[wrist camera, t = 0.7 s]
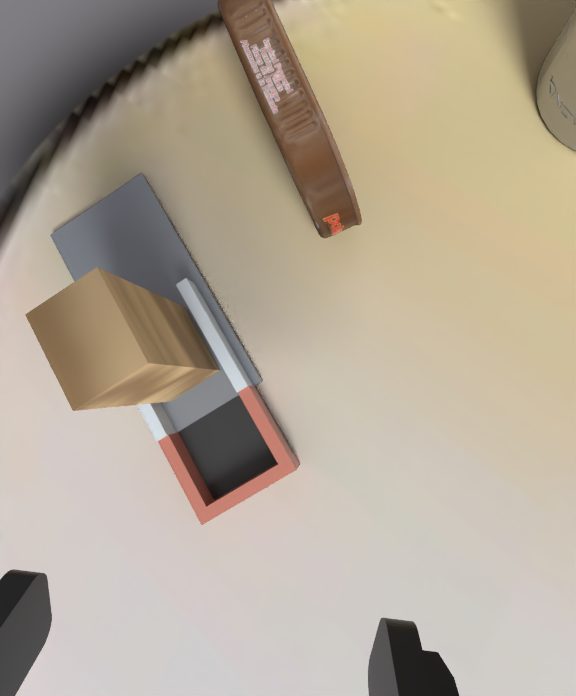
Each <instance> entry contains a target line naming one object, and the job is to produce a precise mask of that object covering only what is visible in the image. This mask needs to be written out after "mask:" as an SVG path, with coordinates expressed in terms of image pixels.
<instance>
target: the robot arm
mask: <svg viewBox="0 0 576 696" xmlns="http://www.w3.org/2000/svg"><path fill="white" fill-rule="evenodd" d="M536 92H537V104H538V107H539V111H540V114H541V117H542V119H543V120H544V122H545V124H546V125H547V127H548V129H549V130H550V131H551V132H552V133H553V134H554V135H555V137H556V138H557V139H558V140H559V141H560V142H562V143H563V144H565V145H566V146H568V147H569V148H571V149H572V150H574V151H576V8H575V9H574V11H573V13H572V14H571V16H570V18H569V19H568V21H567V23H566V25H565V26H564V28H563V30H562V31H561V33H560V35H559V37H558V38H557V40H556V42H555V43H554V45H553V47H552V48H551V50H550V52H549V54H548V55H547V57H546V59H545V61H544V63H543V65H542V68H541V70H540V72H539V76H538V82H537V87H536ZM51 621H52V614H51V606H50V597H49V589H48V581H47V576H46V574H44V573H37V572H29V571H21V570H10V571H9V572H7V573H6V574H5V575H4V576H3V577H2V578H1V580H0V696H15V695H16V693H17V691H18V690H19V688H20V686H21V684H22V683H23V681H24V679H25V677H26V676H27V674H28V672H29V670H30V669H31V667H32V665H33V663H34V662H35V660H36V658H37V657H38V655H39V653H40V651H41V650H42V648H43V646H44V644H45V642H46V639H47V637H48V634H49V631H50V627H51ZM368 688H369V696H459V693H458V690H457V687H456V683H455V680H454V677H453V676H452V674H451V672H450V671H449V669H448V668H447V666H446V664H445V663H444V661H443V660H442V658H441V657H440V655H439V653H438V652H431V651H424V650H422V646H421V642H420V638H419V634H418V630H417V627H416V625H415V623H414V622H412V621H405V620H397V619H389V618H381V620H380V622H379V626H378V630H377V633H376V637H375V641H374V644H373V648H372V652H371V655H370V659H369V667H368Z"/></svg>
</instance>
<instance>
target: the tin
mask: <svg viewBox="0 0 576 696" xmlns="http://www.w3.org/2000/svg"><path fill="white" fill-rule="evenodd" d="M218 9H219V11H220V13H221V15H222V18H223V20H224V23H225V25H226V28H227V30H228V32H229V35H230V37H231V39H232V42H233V44H234V47H235V49H236V51H237V54H238V56H239V58H240V61H241V63H242V65H243V68H244V70H245V72H246V75H247V77H248V80H249V82H250V84H251V87H252V89H253V91H254V93H255V96H256V98H257V100H258V102H259V105H260V107H261V109H262V111H263V114H264V116H265V118H266V120H267V122H268V124H269V127H270V129H271V131H272V133H273V135H274V138H275V140H276V142H277V144H278V146H279V149H280V151H281V153H282V155H283V158H284V160H285V162H286V164H287V166H288V169H289V171H290V173H291V175H292V177H293V180H294V182H295V184H296V186H297V189H298V191H299V193H300V195H301V197H302V199H303V201H304V203H305V205H306V207H307V209H308V211H309V213H310V216H311V218H312V220H313V222H314V225H315V227H316V229H317V231H318V233H319V235H320V236H321V237H322V238H328V237H330V236H333V235H335V234H337V233H339V232H341V231H344V230H346V229H348V228H350V227H352V226H354V225H360V224H361V223H362V219H361V214H360V209H359V206H358V203H357V199H356V196H355V193H354V190H353V187H352V184H351V181H350V178H349V176H348V173H347V170H346V168H345V165H344V163H343V160H342V158H341V155H340V153H339V150H338V147H337V145H336V143H335V140H334V138H333V136H332V133H331V131H330V128H329V126H328V124H327V122H326V119H325V117H324V115H323V112H322V110H321V108H320V106H319V104H318V102H317V99H316V97H315V95H314V93H313V91H312V89H311V86H310V84H309V82H308V80H307V77H306V75H305V73H304V71H303V69H302V67H301V64H300V63H299V60H298V58H297V56H296V54H295V51H294V49H293V47H292V45H291V43H290V41H289V39H288V36H287V34H286V32H285V30H284V27H283V25H282V23H281V21H280V19H279V17H278V14H277V12H276V10H275V8H274V5H273V3H272V1H271V0H218Z"/></svg>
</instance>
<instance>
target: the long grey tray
mask: <svg viewBox="0 0 576 696" xmlns="http://www.w3.org/2000/svg"><path fill="white" fill-rule="evenodd" d="M51 237H52V239H53V241H54V243H55V245H56V247H57V249H58V251H59V253H60V255H61V256H62V258H63V260H64V262H65V264H66V266H67V268H68V270H69V272H70V274H71V276H72V277H73V279H74V281H77V280H78V279H80V278H81V277H83V276H84V275H86V274H87V273H89V272H90V271H92V270H93V269H95V268H96V267H98V268H100V269H102V270H104V271H107V272H109V273H111V274H113V275H116V276H118V277H120V278H122V279H124V280H127V281H129V282H131V283H133V284H135V285H138V286H140V287H142V288H144V289H146V290H149V291H151V292H153V293H155V294H157V295H160V296H162V297H164V298H166V299H168V300H171V301H173V302H175V303H177V304H180V305H182V306H184V307H185V309H186V310H187V312H188V314H189V316H190V317H191V319H192V321H193V323H194V325H195V326H196V328H197V330H198V332H199V333H200V335H201V337H202V339H203V340H204V342H205V344H206V346H207V348H208V349H209V351H210V353H211V355H212V356H213V358H214V360H215V362H216V364H217V365H218V367H219V369H220V371H219V372H217V373H215V374H214V375H212V376H211V377H209V378H207V379H206V380H204V381H202V382H201V383H199V384H198V385H196V386H194V387H193V388H191V389H190V390H188V391H186V392H185V393H183V394H181V395H180V396H178V397H177V398H175V399H173V400H172V401H170V402H160V403H149V404H139V405H137V406H138V407H139V409H140V411H141V413H142V415H143V417H144V419H145V421H146V423H147V425H148V427H149V428H150V430H151V432H152V434H153V436H154V438H155V440H156V442H157V441H158V443H159V444H160V446H161V448H162V450H163V452H164V454H165V456H166V458H167V460H168V462H169V464H170V465H171V467H172V469H173V471H174V473H175V475H176V477H177V479H178V481H179V483H180V485H181V486H182V488H183V490H184V492H185V494H186V496H187V498H188V500H189V502H190V504H191V506H192V508H193V509H194V511H195V513H196V515H197V517H198V519H199V521H200V523H201V525H203V524H204V523H206V522H208V521H209V520H211V519H213V518H215V517H216V516H218V515H220V514H221V513H223V512H225V511H227V510H228V509H230V508H232V507H233V506H235V505H237V504H239V503H240V502H242V501H244V500H245V499H247V498H249V497H251V496H252V495H254V494H256V493H257V492H259V491H261V490H262V489H264V488H266V487H268V486H269V485H271V484H273V483H274V482H276V481H278V480H280V479H281V478H283V477H285V476H286V475H288V474H290V473H292V472H293V471H295V470H297V468H298V467H299V465H300V463H299V461H298V459H297V458H296V456H295V454H294V452H293V451H292V449H291V447H290V446H289V444H288V442H287V440H286V439H285V437H284V435H283V433H282V432H281V430H280V428H279V426H278V425H277V423H276V421H275V419H274V418H273V416H272V414H271V412H270V411H269V409H268V407H267V405H266V404H265V402H264V400H263V398H262V397H261V395H260V393H259V392H258V390H257V388H256V386H255V385H257V384H259V383H260V382H262V381H263V380H262V379H261V377H260V375H259V373H258V372H257V370H256V368H255V367H254V365H253V363H252V361H251V360H250V358H249V356H248V354H247V353H246V351H245V349H244V348H243V346H242V344H241V342H240V341H239V339H238V337H237V335H236V334H235V332H234V330H233V329H232V327H231V325H230V323H229V322H228V320H227V318H226V316H225V315H224V313H223V311H222V309H221V308H220V306H219V304H218V303H217V301H216V299H215V297H214V296H213V294H212V292H211V290H210V289H209V287H208V285H207V284H206V282H205V280H204V278H203V277H202V275H201V273H200V271H199V270H198V268H197V266H196V265H195V263H194V261H193V259H192V258H191V256H190V254H189V252H188V251H187V249H186V247H185V246H184V244H183V242H182V240H181V239H180V237H179V235H178V233H177V232H176V230H175V228H174V226H173V225H172V223H171V221H170V220H169V218H168V216H167V214H166V213H165V211H164V209H163V207H162V206H161V204H160V202H159V201H158V199H157V197H156V195H155V194H154V192H153V190H152V188H151V187H150V185H149V183H148V182H147V180H146V178H145V176H144V175H143V174H142V173H141V174H139V175H138V176H136V177H135V178H133V179H132V180H130V181H129V182H127V183H126V184H124V185H123V186H122V187H120V188H119V189H117V190H116V191H114V192H113V193H111V194H110V195H108V196H107V197H105V198H104V199H102V200H101V201H99V202H98V203H97V204H95V205H94V206H92V207H91V208H89V209H88V210H86V211H85V212H83V213H82V214H80V215H79V216H77V217H76V218H75V219H73V220H72V221H70V222H69V223H67V224H66V225H64V226H63V227H61V228H60V229H58V230H57V231H55V232H54V233H52V234H51Z"/></svg>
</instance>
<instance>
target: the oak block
mask: <svg viewBox="0 0 576 696" xmlns="http://www.w3.org/2000/svg"><path fill="white" fill-rule="evenodd" d="M25 315H26V317H27V319H28V321H29V323H30V325H31V327H32V329H33V331H34V333H35V335H36V337H37V339H38V341H39V343H40V345H41V347H42V349H43V351H44V353H45V355H46V357H47V359H48V361H49V363H50V365H51V367H52V369H53V371H54V373H55V375H56V377H57V379H58V381H59V383H60V385H61V387H62V389H63V392H64V394H65V396H66V398H67V400H68V402H69V404H70V406H71V408H72V410H73V411H76V410H86V409H97V408H107V407H118V406H128V405H139V404H149V403H160V402H170V401H172V400H173V399H175V398H177V397H178V396H180V395H181V394H183V393H185V392H186V391H188V390H190V389H191V388H193V387H194V386H196V385H198V384H199V383H201V382H202V381H204V380H206V379H207V378H209V377H211V376H212V375H214V374H215V373H217V372H219V371H220V369H219V367H218V365H217V364H216V362H215V360H214V358H213V356H212V355H211V353H210V351H209V349H208V348H207V346H206V344H205V342H204V340H203V339H202V337H201V335H200V333H199V332H198V330H197V328H196V326H195V325H194V323H193V321H192V319H191V317H190V316H189V314H188V312H187V310H186V309H185V307H184V306H182V305H180V304H177V303H175V302H173V301H171V300H168V299H166V298H164V297H162V296H160V295H157V294H155V293H153V292H151V291H149V290H146V289H144V288H142V287H140V286H138V285H135V284H133V283H131V282H129V281H127V280H124V279H122V278H120V277H118V276H116V275H113V274H111V273H109V272H107V271H104V270H102V269H100V268H98V267H96V268H95V269H93V270H92V271H90V272H89V273H87V274H86V275H84V276H83V277H81V278H80V279H78V280H77V281H75V282H74V283H72V284H71V285H69V286H68V287H66V288H65V289H63V290H62V291H60V292H59V293H57V294H56V295H54V296H53V297H51V298H50V299H48V300H47V301H45V302H44V303H42V304H41V305H39V306H38V307H36V308H35V309H33V310H32V311H30V312H29V313H27V314H25Z"/></svg>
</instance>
